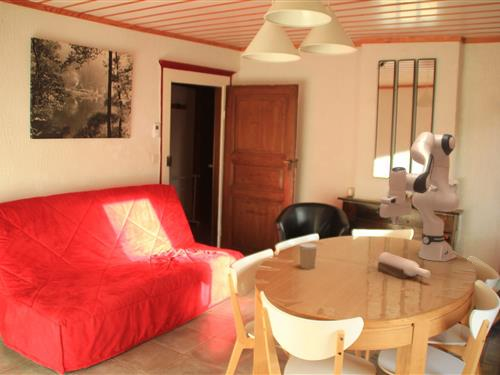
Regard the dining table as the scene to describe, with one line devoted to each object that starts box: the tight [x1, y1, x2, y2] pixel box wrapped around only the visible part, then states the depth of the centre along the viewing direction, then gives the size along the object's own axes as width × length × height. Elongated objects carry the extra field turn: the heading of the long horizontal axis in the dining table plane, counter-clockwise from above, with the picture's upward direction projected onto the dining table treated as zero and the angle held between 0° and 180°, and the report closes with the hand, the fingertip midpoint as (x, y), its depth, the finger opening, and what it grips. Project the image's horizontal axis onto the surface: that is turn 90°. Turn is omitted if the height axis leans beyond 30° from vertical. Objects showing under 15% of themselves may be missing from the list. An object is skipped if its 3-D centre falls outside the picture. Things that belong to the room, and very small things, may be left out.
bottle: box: [378, 251, 432, 279], centre depth 261 cm, size 8×8×30 cm
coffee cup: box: [299, 242, 318, 270], centre depth 274 cm, size 9×9×12 cm
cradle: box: [377, 261, 421, 280], centre depth 266 cm, size 14×16×4 cm
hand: (395, 224), depth 267 cm, fingers closed
